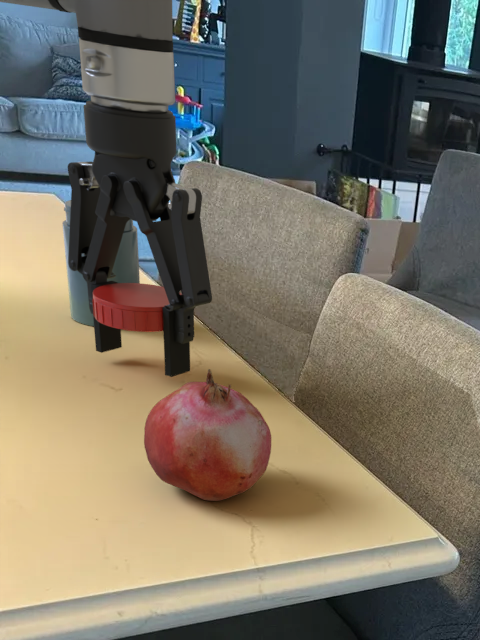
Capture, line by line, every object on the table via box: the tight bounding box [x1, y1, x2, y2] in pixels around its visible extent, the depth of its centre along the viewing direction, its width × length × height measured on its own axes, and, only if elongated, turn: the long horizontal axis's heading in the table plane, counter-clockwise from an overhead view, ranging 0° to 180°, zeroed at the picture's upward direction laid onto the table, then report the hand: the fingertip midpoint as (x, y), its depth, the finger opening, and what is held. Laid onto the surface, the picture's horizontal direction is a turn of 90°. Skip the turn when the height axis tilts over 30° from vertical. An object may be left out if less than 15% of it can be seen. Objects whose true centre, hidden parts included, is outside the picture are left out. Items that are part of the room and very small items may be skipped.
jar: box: [62, 199, 141, 327], centre depth 98 cm, size 8×8×12 cm
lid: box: [92, 282, 182, 333], centre depth 85 cm, size 8×8×2 cm
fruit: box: [143, 368, 272, 502], centre depth 67 cm, size 9×10×10 cm
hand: (142, 360), depth 88 cm, fingers closed on lid, 8 cm apart
